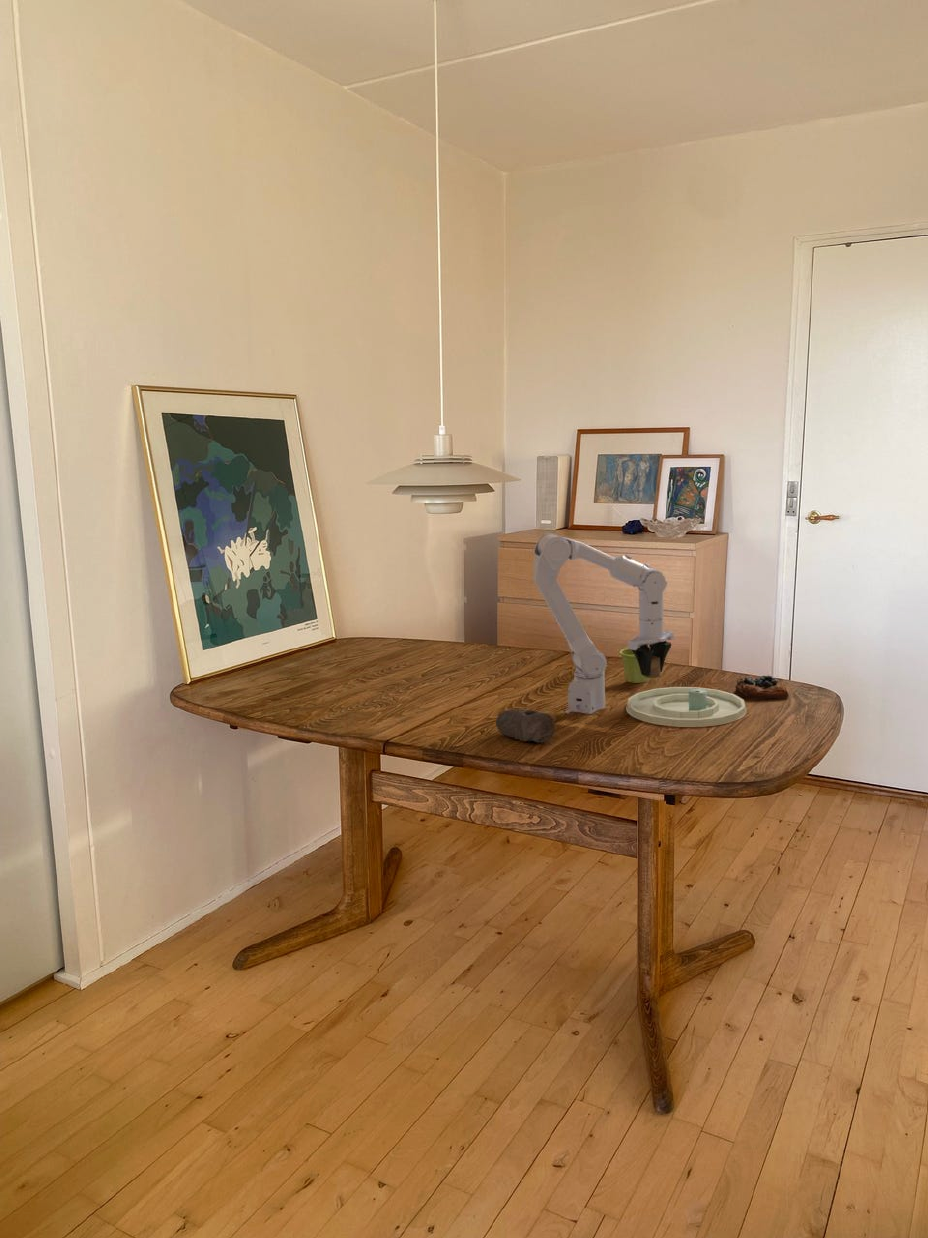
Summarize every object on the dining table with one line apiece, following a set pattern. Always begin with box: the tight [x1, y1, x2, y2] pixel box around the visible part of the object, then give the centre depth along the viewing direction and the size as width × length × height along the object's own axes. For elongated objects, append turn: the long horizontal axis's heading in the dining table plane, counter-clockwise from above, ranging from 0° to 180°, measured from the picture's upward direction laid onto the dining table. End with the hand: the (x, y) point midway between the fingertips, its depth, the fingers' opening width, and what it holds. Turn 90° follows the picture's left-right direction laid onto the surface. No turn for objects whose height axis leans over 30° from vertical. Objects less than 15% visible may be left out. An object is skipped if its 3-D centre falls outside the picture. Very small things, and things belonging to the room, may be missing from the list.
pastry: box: [735, 675, 790, 701], centre depth 229 cm, size 11×12×6 cm
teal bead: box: [689, 689, 707, 711], centre depth 219 cm, size 4×4×5 cm
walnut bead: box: [643, 656, 661, 679], centre depth 227 cm, size 4×4×5 cm
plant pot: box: [619, 647, 651, 684], centre depth 247 cm, size 9×9×9 cm
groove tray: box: [625, 686, 747, 728], centre depth 221 cm, size 28×28×2 cm
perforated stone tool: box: [495, 709, 555, 744], centre depth 207 cm, size 15×5×7 cm, turn 47°
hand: (651, 673), depth 227 cm, fingers closed on walnut bead, 4 cm apart
